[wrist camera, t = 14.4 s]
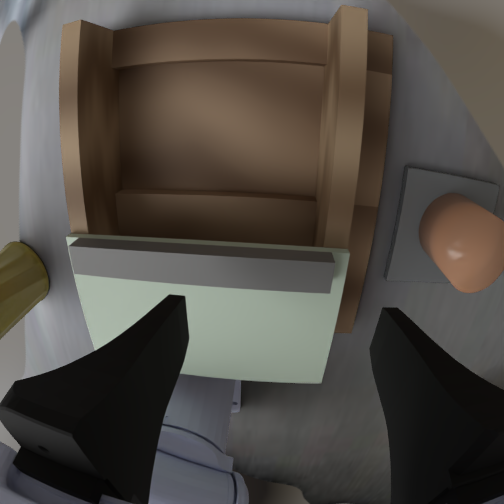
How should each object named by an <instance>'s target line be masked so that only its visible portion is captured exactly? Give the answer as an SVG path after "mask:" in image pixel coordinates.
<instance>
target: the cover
mask: <svg viewBox="0 0 504 504" xmlns="http://www.w3.org/2000/svg"><path fill="white" fill-rule="evenodd" d="M66 240H67V245H68V250H69V255H70V260H71V264H72V269H73V273H74V278H75V282H76V286H77V290H78V294H79V298H80V302H81V305H82V309H83V313H84V316H85V320H86V323H87V326H88V330H89V333H90V336H91V339H92V343H93V346H94V349H95V350H97V349H99V348H100V347H102V346H104V345H105V344H107V343H108V342H110V341H111V340H113V339H114V338H116V337H117V336H119V335H120V334H121V333H123V332H124V331H125V330H127V329H128V328H129V327H131V326H132V325H133V324H135V323H136V322H137V321H138V320H139V319H141V318H142V317H143V316H144V315H146V314H147V313H148V312H149V311H150V310H151V309H153V308H154V307H155V306H156V305H157V304H158V303H159V302H161V301H162V300H163V299H164V298H165V297H167V296H168V295H169V294H172V295H183V296H185V298H186V309H187V319H188V329H189V343H188V348H187V352H186V356H185V360H184V363H183V366H182V369H181V372H180V374H187V375H195V376H204V377H214V378H224V379H235V380H248V381H263V382H283V383H321V382H322V378H323V375H324V371H325V367H326V363H327V359H328V355H329V351H330V347H331V343H332V338H333V334H334V330H335V325H336V321H337V317H338V312H339V307H340V303H341V298H342V293H343V288H344V283H345V278H346V272H347V267H348V262H349V256H350V252H349V250H348V249H340V248H324V247H308V246H292V245H276V244H259V243H242V242H225V241H207V240H189V239H171V238H152V237H133V236H113V235H93V234H72V233H70V234H69V235H68V236H67V237H66Z"/></svg>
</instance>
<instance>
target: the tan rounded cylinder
mask: <svg viewBox="0 0 504 504" xmlns="http://www.w3.org/2000/svg"><path fill="white" fill-rule="evenodd" d="M419 240H420V244H421V246H422V248H423V250H424V251H425V253H426V254H427V255H428V256H429V257H430V258H431V260H432V261H433V262H434V263H435V264H436V265H437V267H438V268H439V269H440V270H441V271H442V273H443V274H444V275H445V276H446V277H447V279H448V280H449V281H450V282H451V283H452V285H453V286H454V287H455V288H456V289H458V290H459V291H461V292H465V293H474V292H478V291H481V290H483V289H485V288H487V287H488V286H489V285H491V284H492V283H493V282H494V281H495V280H496V279H497V278H498V277H499V276H500V274H501V273H502V271H503V270H504V222H503V221H502V220H501V219H500V218H498V217H497V216H495V215H494V214H492V213H491V212H489V211H487V210H486V209H484V208H483V207H481V206H480V205H478V204H476V203H475V202H473V201H472V200H470V199H468V198H467V197H465V196H463V195H461V194H458V193H447V194H444V195H442V196H439V197H438V198H436V199H435V200H434V201H433V202H432V203H431V204H430V205H429V206H428V207H427V208H426V210H425V212H424V214H423V216H422V218H421V221H420V225H419Z"/></svg>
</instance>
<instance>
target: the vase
mask: <svg viewBox="0 0 504 504" xmlns="http://www.w3.org/2000/svg"><path fill="white" fill-rule="evenodd" d="M48 289H49V280H48V275H47V272H46V269H45V267H44V265H43V263H42V261H41V259H40V258H39V257H38V255H37V254H36V253H35V252H34V251H33V250H32V249H31V248H29V247H28V246H27V245H25V244H23V243H21V242H10V243H8V244H7V245H6V246H5V247H4V248H3V249H2V250H1V251H0V339H1V338H2V337H3V336H4V335H5V334H6V333H7V332H8V331H9V330H10V329H11V328H12V327H13V326H14V325H16V324H17V323H18V322H19V321H20V320H21V319H22V318H23V317H24V316H25V315H26V314H27V313H28V312H29V311H30V310H31V309H32V308H33V307H34V306H35V305H36V304H37V303H39V302H40V301H41V300H43V299H44V298H45V296H46V294H47V292H48Z"/></svg>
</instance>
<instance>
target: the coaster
mask: <svg viewBox="0 0 504 504" xmlns="http://www.w3.org/2000/svg"><path fill="white" fill-rule="evenodd" d="M499 187H500V186H499V185H497V184H495V183H491V182H486V181H482V180H477V179H473V178H468V177H463V176H458V175H453V174H448V173H443V172H437V171H432V170H426V169H420V168H414V167H407V166H405V170H404V177H403V184H402V190H401V196H400V202H399V208H398V213H397V219H396V224H395V229H394V234H393V239H392V244H391V248H390V253H389V257H388V262H387V266H386V270H385V274H384V278H385V279H386V281H403V282H431V283H451V282H450V281H449V280H448V279H447V277H446V276H445V275H444V274H443V273H442V271H441V270H440V269H439V268H438V267H437V265H436V264H435V263H434V262H433V261H432V260H431V258H430V257H429V256H428V255H427V254H426V253H425V251H424V250H423V248H422V246H421V244H420V240H419V225H420V221H421V218H422V216H423V214H424V212H425V210H426V208H427V207H428V206H429V205H430V204H431V203H432V202H433V201H434V200H435V199H436V198H438V197H439V196H442V195H444V194H447V193H458V194H461V195H463V196H465V197H467V198H468V199H470V200H472V201H473V202H475V203H476V204H478V205H480V206H481V207H483V208H484V209H486V210H487V211H489V212H491V213H492V214H494V211H495V206H496V202H497V197H498V192H499Z"/></svg>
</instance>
